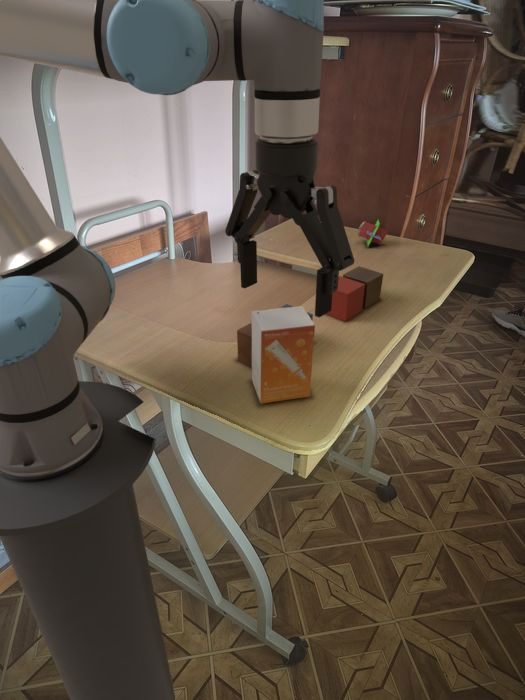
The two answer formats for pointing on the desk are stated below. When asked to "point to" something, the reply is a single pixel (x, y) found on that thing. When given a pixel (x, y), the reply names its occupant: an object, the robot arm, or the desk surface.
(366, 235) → the geometric puzzle
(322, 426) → the desk surface
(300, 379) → the small box
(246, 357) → the cube
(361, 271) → the cube
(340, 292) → the cube
